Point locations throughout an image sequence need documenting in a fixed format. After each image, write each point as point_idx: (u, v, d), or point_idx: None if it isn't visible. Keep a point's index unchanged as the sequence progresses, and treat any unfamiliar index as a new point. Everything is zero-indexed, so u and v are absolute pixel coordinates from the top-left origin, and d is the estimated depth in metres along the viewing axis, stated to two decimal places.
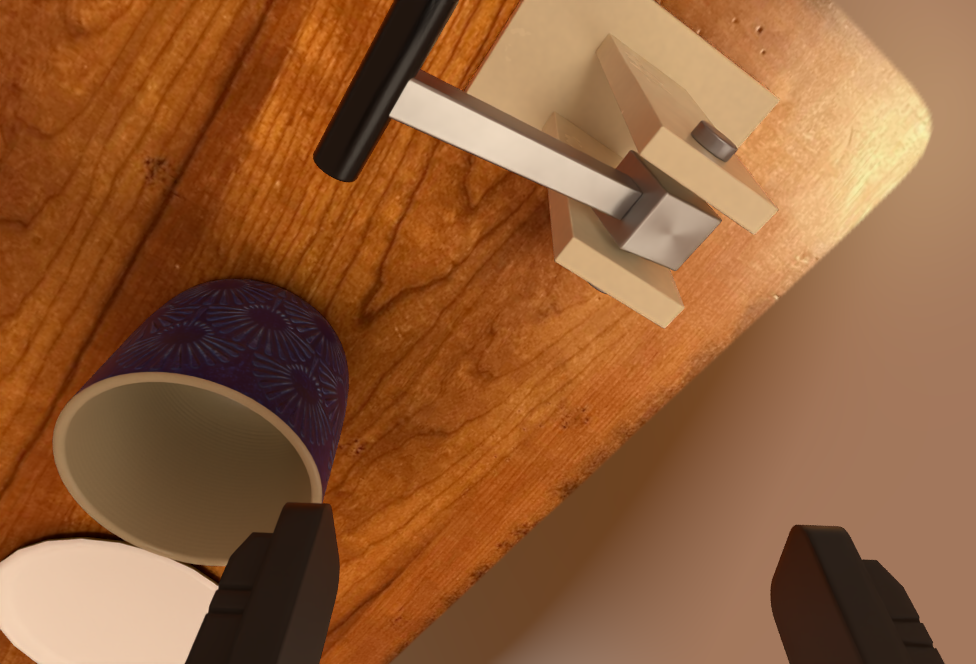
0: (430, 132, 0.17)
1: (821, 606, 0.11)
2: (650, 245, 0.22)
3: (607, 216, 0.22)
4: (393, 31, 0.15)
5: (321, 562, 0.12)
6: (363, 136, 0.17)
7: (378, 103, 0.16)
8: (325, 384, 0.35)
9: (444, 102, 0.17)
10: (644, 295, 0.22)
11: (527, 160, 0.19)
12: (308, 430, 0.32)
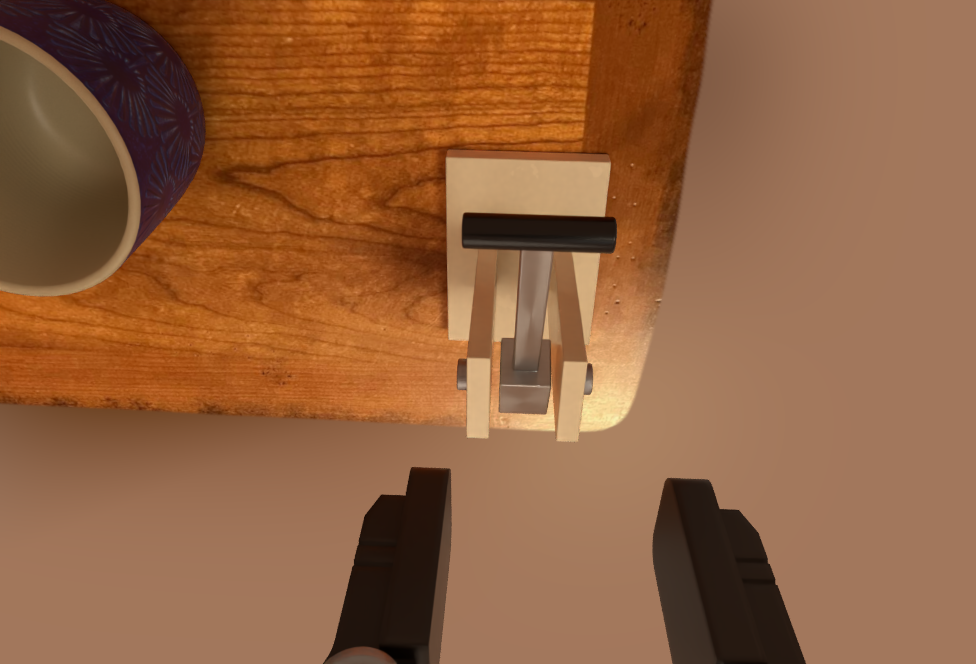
0: (522, 271, 0.24)
1: (679, 549, 0.12)
2: (510, 395, 0.31)
3: (507, 359, 0.31)
4: (578, 233, 0.23)
5: (447, 522, 0.12)
6: (502, 245, 0.23)
7: (529, 244, 0.23)
8: (170, 207, 0.35)
9: (546, 270, 0.24)
10: (480, 415, 0.31)
11: (529, 317, 0.27)
12: (140, 239, 0.32)
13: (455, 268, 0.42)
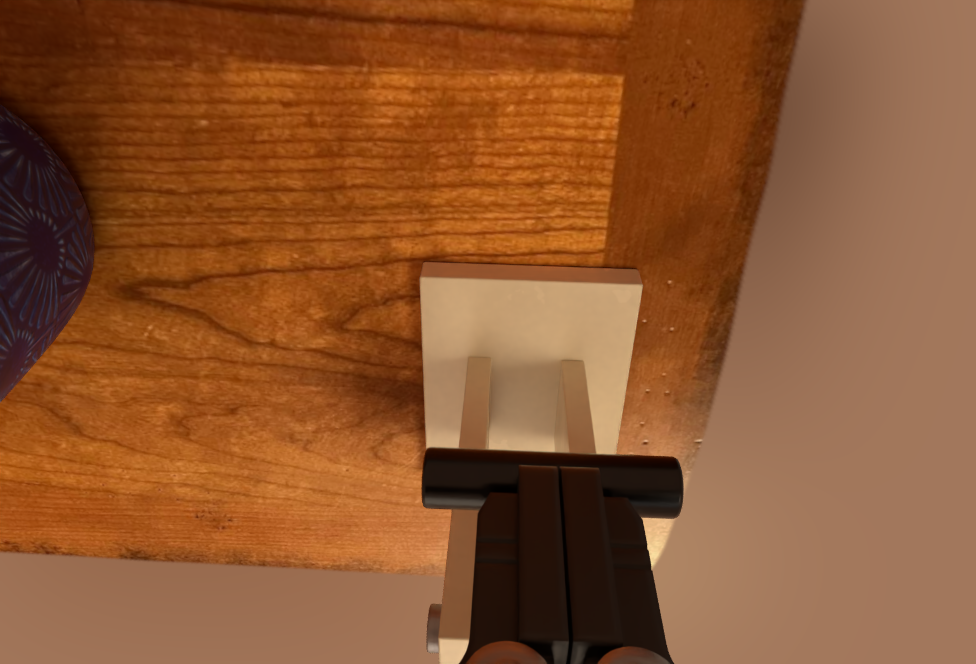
0: None
1: (562, 535, 0.12)
2: None
3: None
4: (618, 490, 0.13)
5: None
6: None
7: None
8: (32, 361, 0.25)
9: None
10: None
11: None
12: None
13: (435, 409, 0.32)
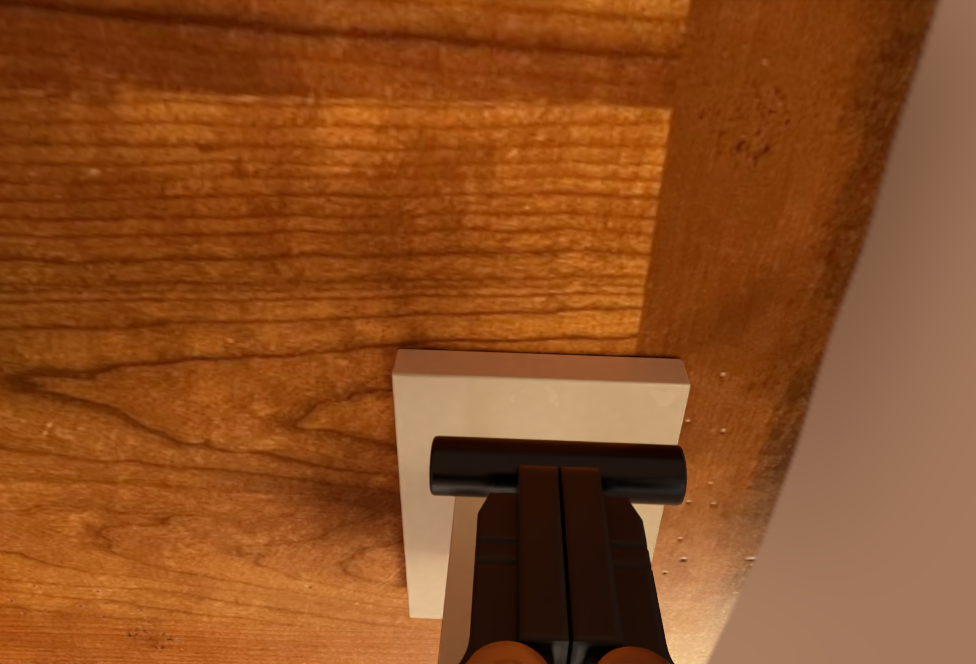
0: None
1: (562, 535, 0.12)
2: None
3: None
4: (621, 453, 0.14)
5: None
6: (497, 474, 0.14)
7: None
8: None
9: None
10: None
11: None
12: None
13: (416, 528, 0.25)
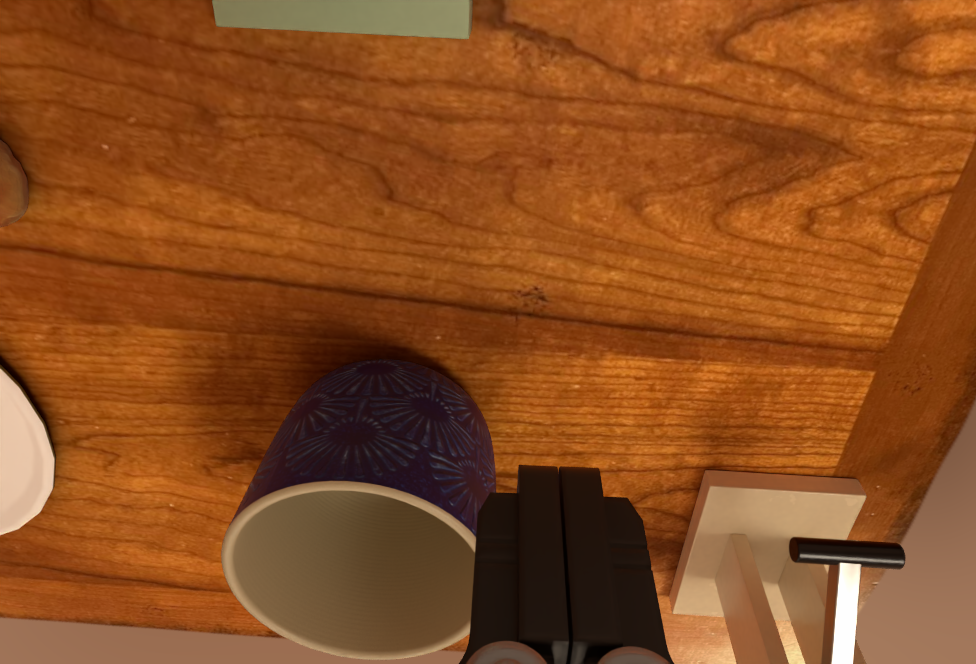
0: (839, 587, 0.33)
1: (562, 535, 0.12)
2: None
3: None
4: (877, 547, 0.33)
5: None
6: (826, 555, 0.33)
7: (846, 555, 0.33)
8: None
9: (856, 586, 0.33)
10: None
11: (842, 647, 0.33)
12: None
13: (695, 564, 0.44)
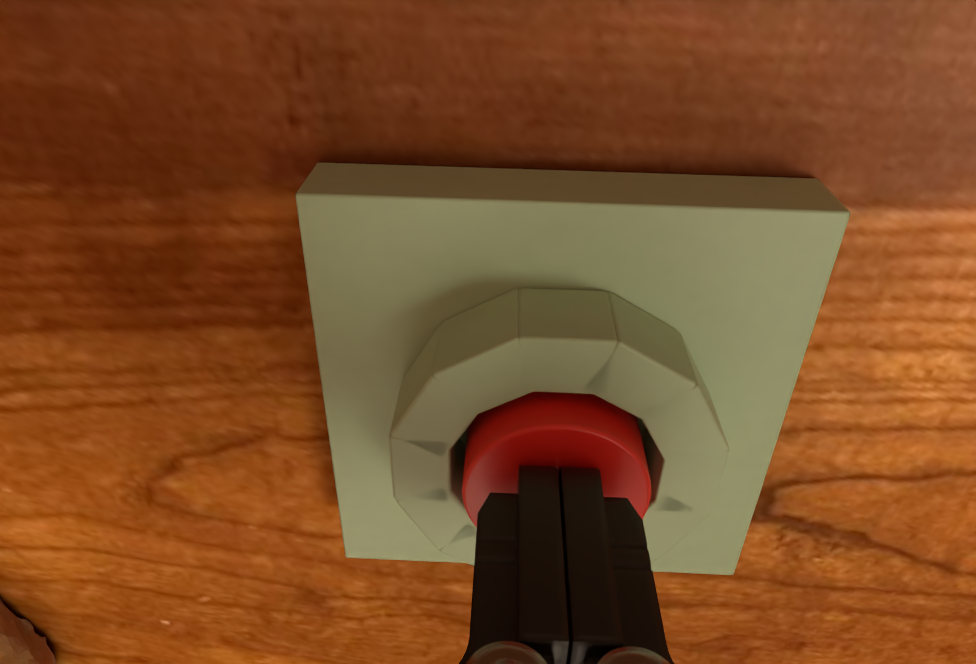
0: None
1: (562, 535, 0.12)
2: None
3: None
4: None
5: None
6: None
7: None
8: None
9: None
10: None
11: None
12: None
13: None
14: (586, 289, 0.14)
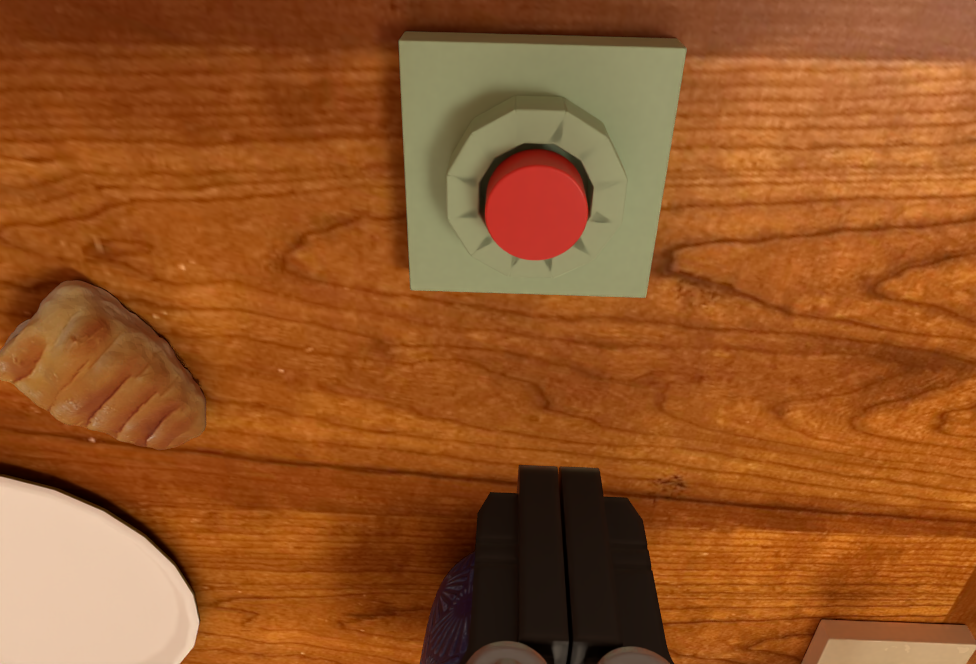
0: None
1: (562, 535, 0.12)
2: None
3: None
4: None
5: None
6: None
7: None
8: None
9: None
10: None
11: None
12: None
13: None
14: (551, 96, 0.25)
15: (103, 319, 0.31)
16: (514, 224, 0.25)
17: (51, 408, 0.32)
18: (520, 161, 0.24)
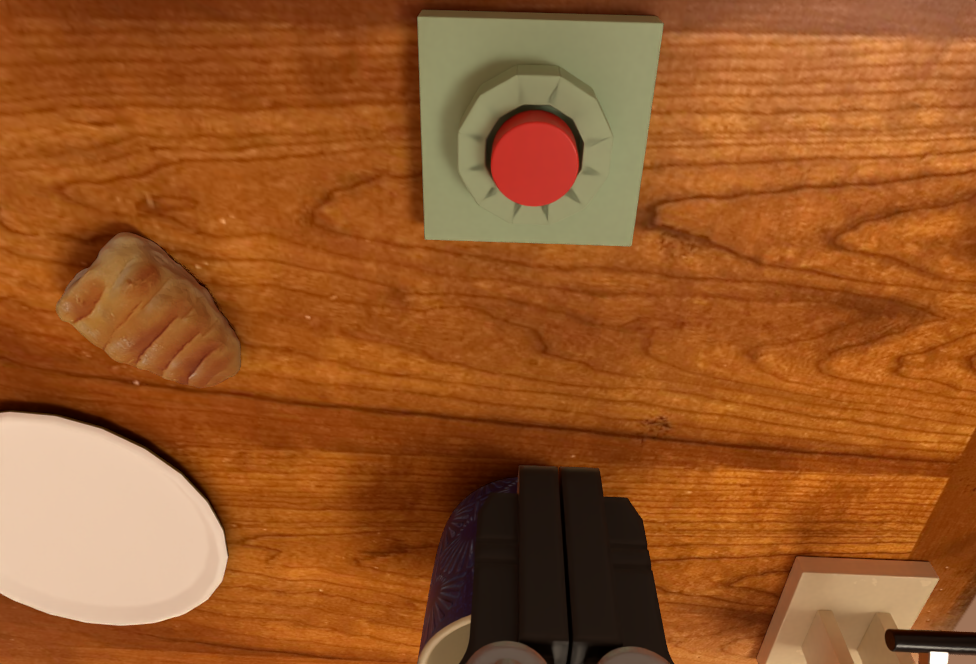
0: None
1: (562, 535, 0.12)
2: None
3: None
4: (961, 637, 0.39)
5: None
6: (919, 646, 0.39)
7: (935, 645, 0.39)
8: None
9: None
10: None
11: None
12: None
13: (784, 634, 0.50)
14: (548, 65, 0.29)
15: (154, 266, 0.35)
16: (515, 174, 0.29)
17: (106, 346, 0.36)
18: (521, 119, 0.28)
